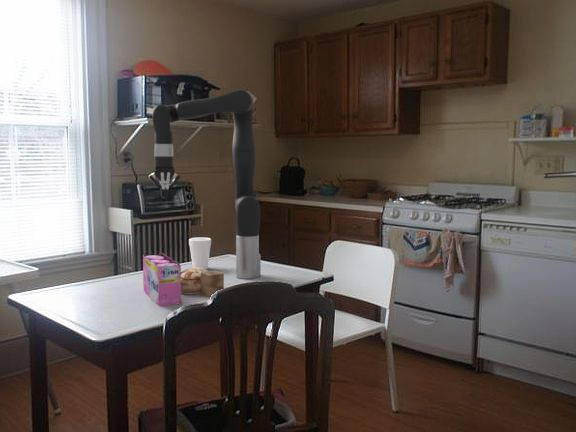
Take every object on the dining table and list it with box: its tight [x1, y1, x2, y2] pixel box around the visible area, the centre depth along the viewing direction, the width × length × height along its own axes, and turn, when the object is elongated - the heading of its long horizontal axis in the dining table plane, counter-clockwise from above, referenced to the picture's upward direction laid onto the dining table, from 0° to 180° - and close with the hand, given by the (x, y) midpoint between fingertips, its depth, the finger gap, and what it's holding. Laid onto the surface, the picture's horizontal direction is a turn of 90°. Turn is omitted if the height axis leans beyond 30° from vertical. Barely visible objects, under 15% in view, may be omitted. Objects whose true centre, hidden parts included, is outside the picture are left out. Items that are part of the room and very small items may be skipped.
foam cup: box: [188, 236, 212, 270], centre depth 237 cm, size 10×9×13 cm
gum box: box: [142, 252, 182, 307], centre depth 191 cm, size 24×8×14 cm, turn 28°
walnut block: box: [200, 270, 225, 298], centre depth 194 cm, size 6×6×8 cm
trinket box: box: [181, 267, 209, 295], centre depth 201 cm, size 13×15×8 cm
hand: (164, 198), depth 219 cm, fingers closed
